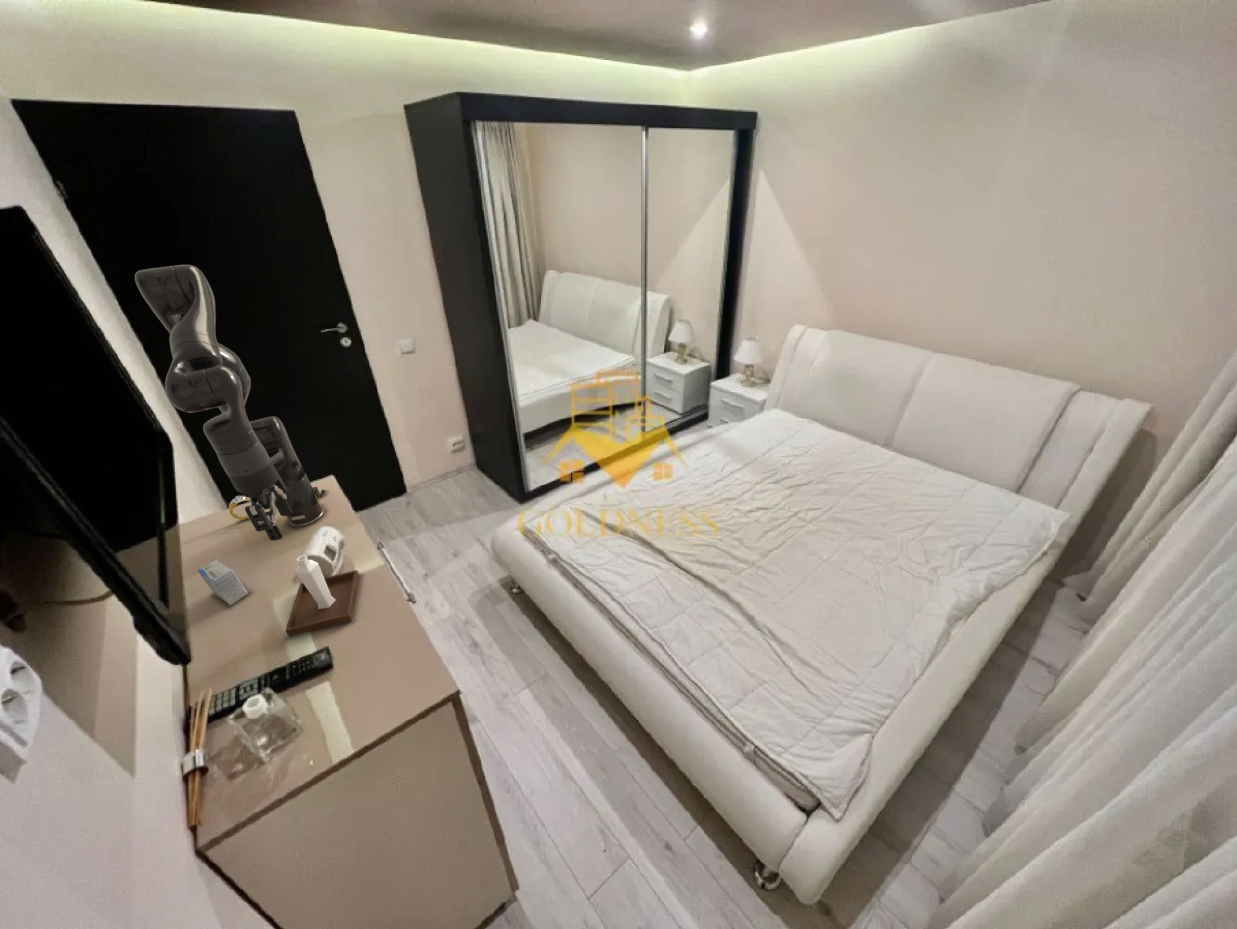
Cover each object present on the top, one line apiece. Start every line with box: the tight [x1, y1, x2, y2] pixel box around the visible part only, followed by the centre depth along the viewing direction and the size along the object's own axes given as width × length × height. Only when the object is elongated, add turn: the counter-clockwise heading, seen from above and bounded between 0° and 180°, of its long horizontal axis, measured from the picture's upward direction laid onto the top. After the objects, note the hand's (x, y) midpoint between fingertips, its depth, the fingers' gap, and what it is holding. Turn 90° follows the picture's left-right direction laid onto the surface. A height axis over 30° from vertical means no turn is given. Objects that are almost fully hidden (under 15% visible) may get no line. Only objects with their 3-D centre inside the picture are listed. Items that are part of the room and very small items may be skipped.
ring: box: [228, 494, 251, 520], centre depth 144 cm, size 7×3×8 cm, turn 125°
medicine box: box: [197, 559, 249, 606], centre depth 118 cm, size 8×4×9 cm, turn 59°
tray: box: [284, 569, 360, 638], centre depth 116 cm, size 15×13×2 cm
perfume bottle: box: [295, 554, 335, 609], centre depth 112 cm, size 5×4×15 cm
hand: (282, 526), depth 104 cm, fingers open, 8 cm apart
